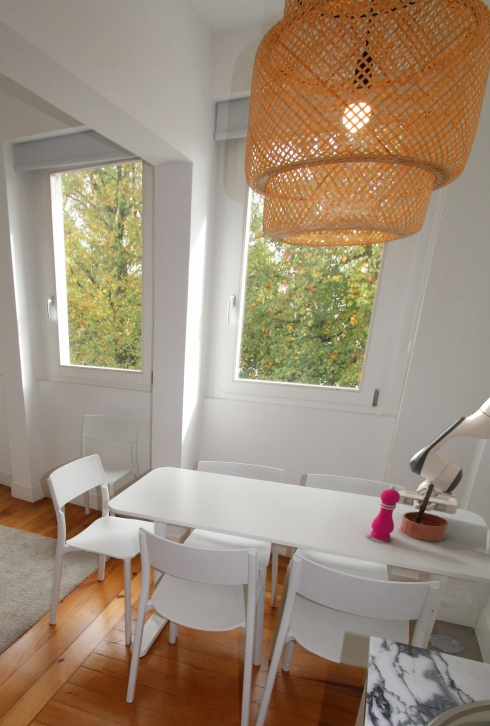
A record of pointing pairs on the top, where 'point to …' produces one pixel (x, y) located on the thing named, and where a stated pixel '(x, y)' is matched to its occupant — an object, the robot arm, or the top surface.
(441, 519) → the bowl
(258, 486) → the top surface
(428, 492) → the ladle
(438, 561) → the top surface
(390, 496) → the pepper mill
